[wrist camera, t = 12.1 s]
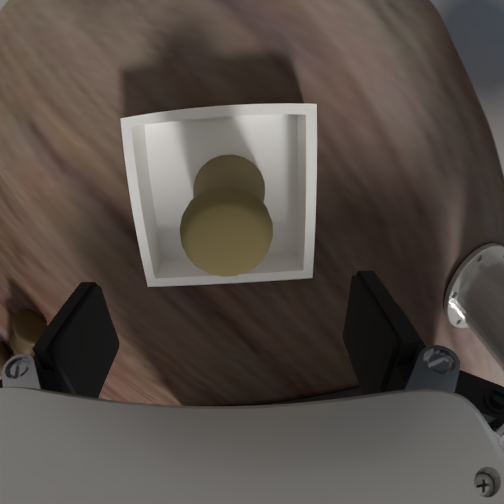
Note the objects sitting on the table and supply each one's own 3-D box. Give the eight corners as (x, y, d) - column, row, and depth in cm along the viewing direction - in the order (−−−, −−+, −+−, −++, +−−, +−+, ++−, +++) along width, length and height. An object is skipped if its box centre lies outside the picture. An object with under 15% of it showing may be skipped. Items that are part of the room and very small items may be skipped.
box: (304, 104, 23) (316, 104, 20) (303, 256, 29) (312, 277, 26) (137, 116, 23) (120, 118, 19) (157, 264, 29) (147, 286, 25)
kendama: (71, 333, 33) (39, 394, 39) (15, 287, 31) (-4, 361, 36) (52, 363, 28) (26, 419, 33) (-9, 312, 25) (-20, 383, 30)
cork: (179, 178, 25) (143, 225, 15) (242, 140, 24) (247, 162, 14) (217, 235, 27) (208, 310, 18) (278, 202, 26) (304, 261, 16)
